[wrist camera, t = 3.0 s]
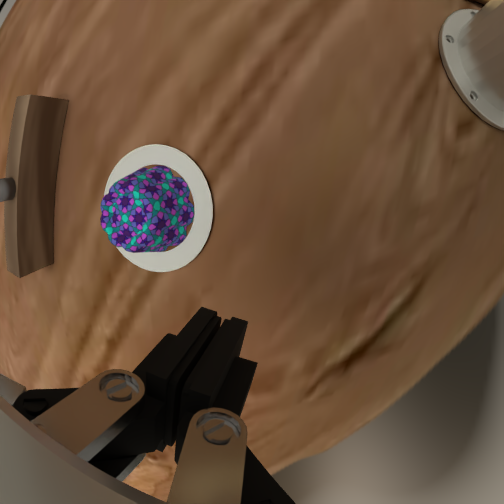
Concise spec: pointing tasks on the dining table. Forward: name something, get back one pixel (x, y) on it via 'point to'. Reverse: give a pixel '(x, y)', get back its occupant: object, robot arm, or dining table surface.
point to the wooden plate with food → (483, 1)
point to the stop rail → (31, 182)
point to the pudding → (157, 208)
